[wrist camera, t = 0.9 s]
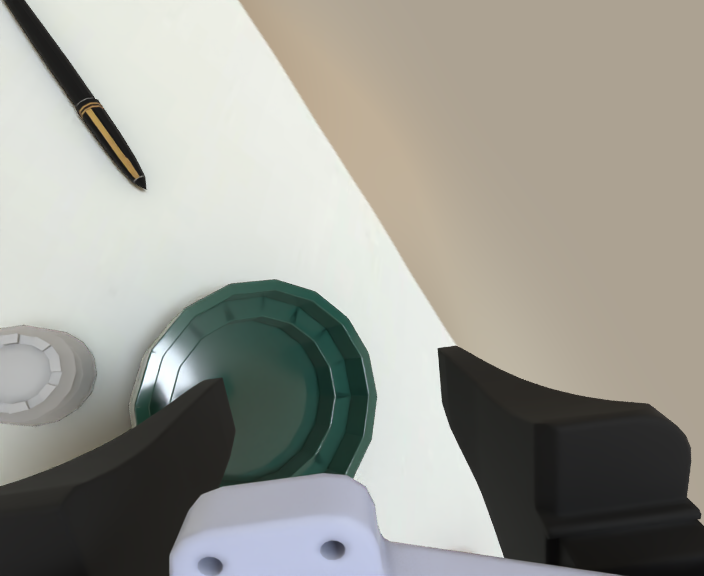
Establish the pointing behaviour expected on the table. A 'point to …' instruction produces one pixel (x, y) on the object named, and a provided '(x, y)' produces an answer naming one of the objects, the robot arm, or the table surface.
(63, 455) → the table surface
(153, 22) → the table surface
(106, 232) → the table surface
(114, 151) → the fountain pen
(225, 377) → the green faceted bowl
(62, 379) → the rook chess piece
